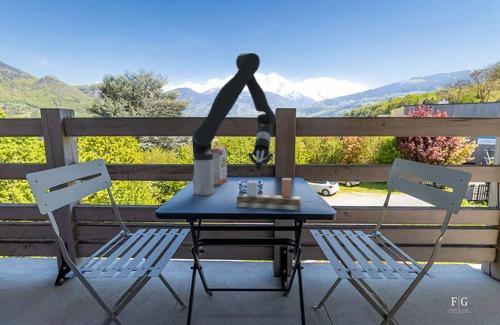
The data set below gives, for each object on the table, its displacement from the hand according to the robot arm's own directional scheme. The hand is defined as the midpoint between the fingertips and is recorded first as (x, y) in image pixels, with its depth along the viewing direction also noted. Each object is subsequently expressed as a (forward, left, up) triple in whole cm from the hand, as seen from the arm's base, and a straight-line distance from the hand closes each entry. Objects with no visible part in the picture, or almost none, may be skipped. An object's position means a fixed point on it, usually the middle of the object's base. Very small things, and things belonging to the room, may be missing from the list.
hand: (258, 170), depth 130 cm
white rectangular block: (0, -14, -10) cm, 18 cm away
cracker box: (-27, +23, -13) cm, 38 cm away
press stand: (+7, -11, -12) cm, 18 cm away
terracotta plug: (+14, -6, -10) cm, 18 cm away
